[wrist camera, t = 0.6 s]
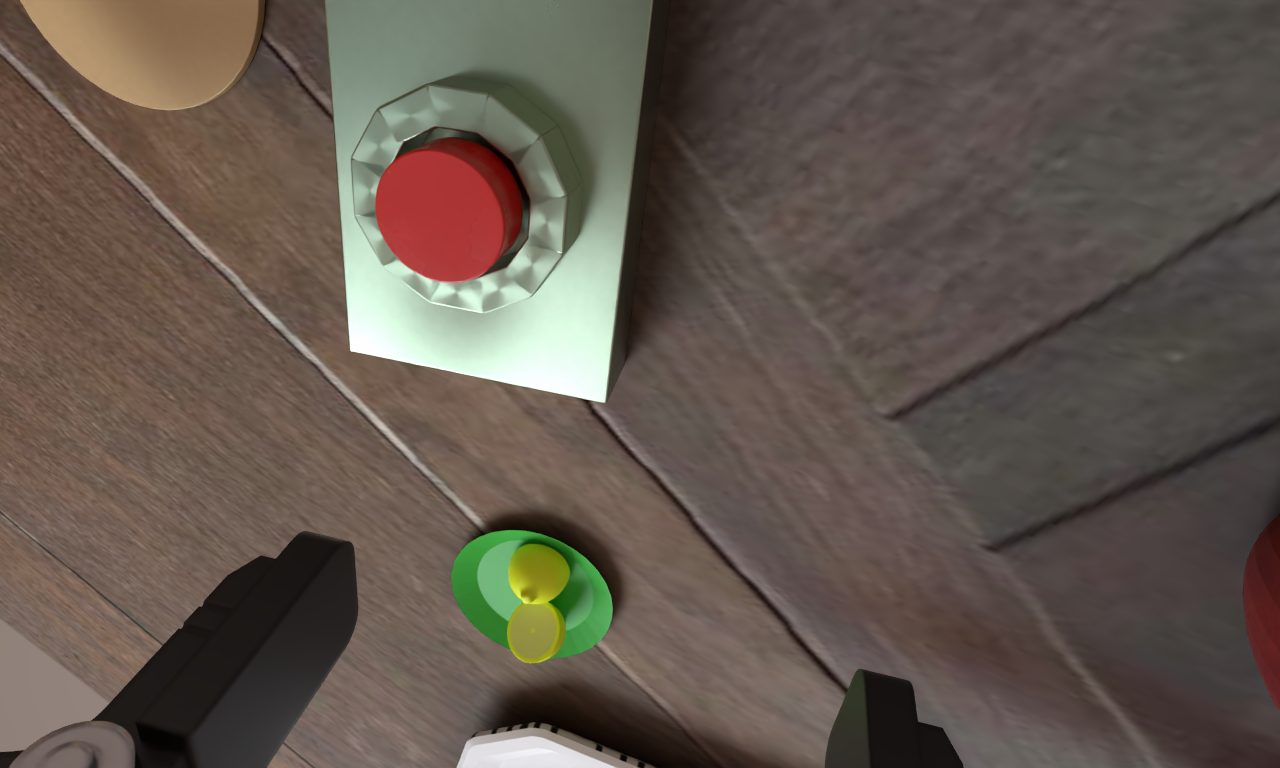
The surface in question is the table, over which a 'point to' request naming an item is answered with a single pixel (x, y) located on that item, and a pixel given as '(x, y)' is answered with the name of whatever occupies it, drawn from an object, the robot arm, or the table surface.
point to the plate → (540, 750)
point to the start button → (449, 209)
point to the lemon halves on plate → (532, 594)
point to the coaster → (154, 45)
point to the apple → (1265, 605)
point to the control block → (536, 156)
